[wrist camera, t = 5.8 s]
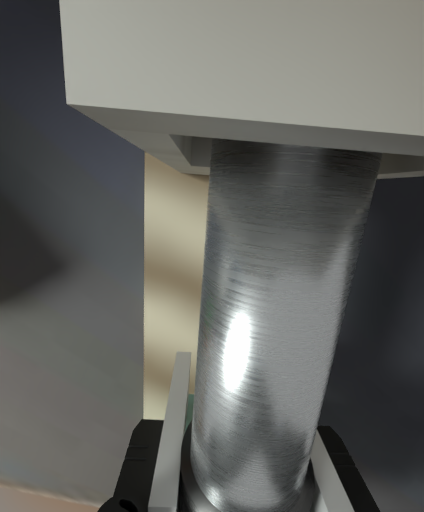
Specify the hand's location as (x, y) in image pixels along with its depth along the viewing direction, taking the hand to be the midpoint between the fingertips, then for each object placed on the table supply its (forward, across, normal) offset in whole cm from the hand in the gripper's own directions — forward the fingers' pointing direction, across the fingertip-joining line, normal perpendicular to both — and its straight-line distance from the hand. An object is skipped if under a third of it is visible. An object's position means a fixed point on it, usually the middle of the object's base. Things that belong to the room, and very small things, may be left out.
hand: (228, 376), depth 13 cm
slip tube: (-3, 0, +2) cm, 4 cm away
